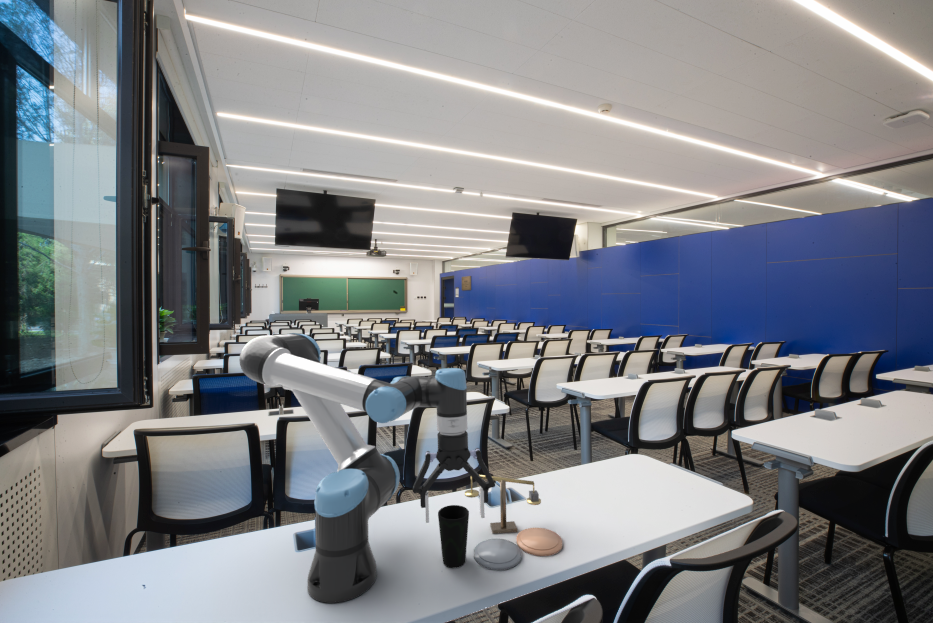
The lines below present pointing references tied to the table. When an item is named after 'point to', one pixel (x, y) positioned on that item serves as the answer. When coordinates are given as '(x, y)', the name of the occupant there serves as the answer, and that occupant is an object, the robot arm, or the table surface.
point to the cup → (453, 534)
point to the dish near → (497, 554)
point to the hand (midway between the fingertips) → (455, 517)
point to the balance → (503, 525)
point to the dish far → (539, 541)
